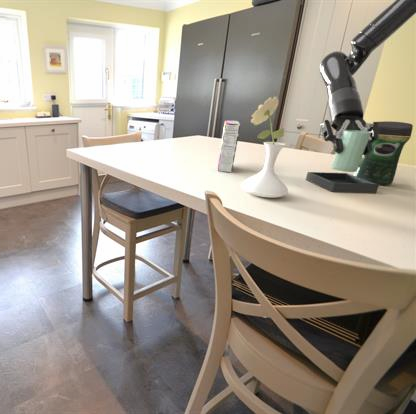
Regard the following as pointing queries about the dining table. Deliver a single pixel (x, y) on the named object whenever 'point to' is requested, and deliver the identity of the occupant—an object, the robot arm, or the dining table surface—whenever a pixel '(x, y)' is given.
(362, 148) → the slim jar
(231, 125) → the candy bar box
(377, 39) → the robot arm
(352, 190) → the dark square tray
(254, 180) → the flower in vase
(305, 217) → the dining table surface
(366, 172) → the coffee jar
